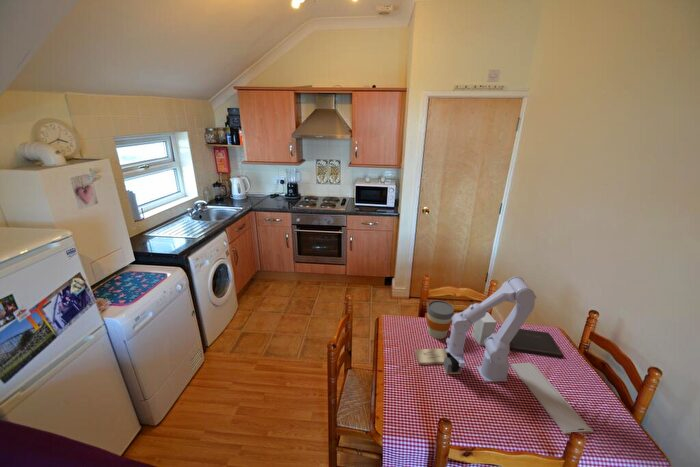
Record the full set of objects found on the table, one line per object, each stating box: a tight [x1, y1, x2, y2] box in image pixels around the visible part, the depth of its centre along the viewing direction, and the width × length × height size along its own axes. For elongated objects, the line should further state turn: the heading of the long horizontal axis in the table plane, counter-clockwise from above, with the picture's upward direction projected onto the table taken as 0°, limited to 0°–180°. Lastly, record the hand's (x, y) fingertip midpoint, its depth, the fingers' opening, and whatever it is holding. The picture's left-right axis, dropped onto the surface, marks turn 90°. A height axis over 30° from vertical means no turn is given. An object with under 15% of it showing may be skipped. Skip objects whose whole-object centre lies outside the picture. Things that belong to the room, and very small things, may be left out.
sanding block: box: [442, 357, 463, 375], centre depth 126 cm, size 6×4×5 cm, turn 94°
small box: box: [471, 311, 498, 346], centre depth 143 cm, size 8×6×13 cm
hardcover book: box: [498, 325, 564, 359], centre depth 144 cm, size 16×23×2 cm
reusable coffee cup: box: [426, 299, 455, 340], centre depth 147 cm, size 13×12×15 cm
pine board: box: [413, 348, 447, 366], centre depth 133 cm, size 16×8×1 cm, turn 94°
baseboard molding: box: [509, 362, 598, 435], centre depth 116 cm, size 31×3×12 cm
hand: (452, 367), depth 126 cm, fingers closed on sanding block, 4 cm apart
